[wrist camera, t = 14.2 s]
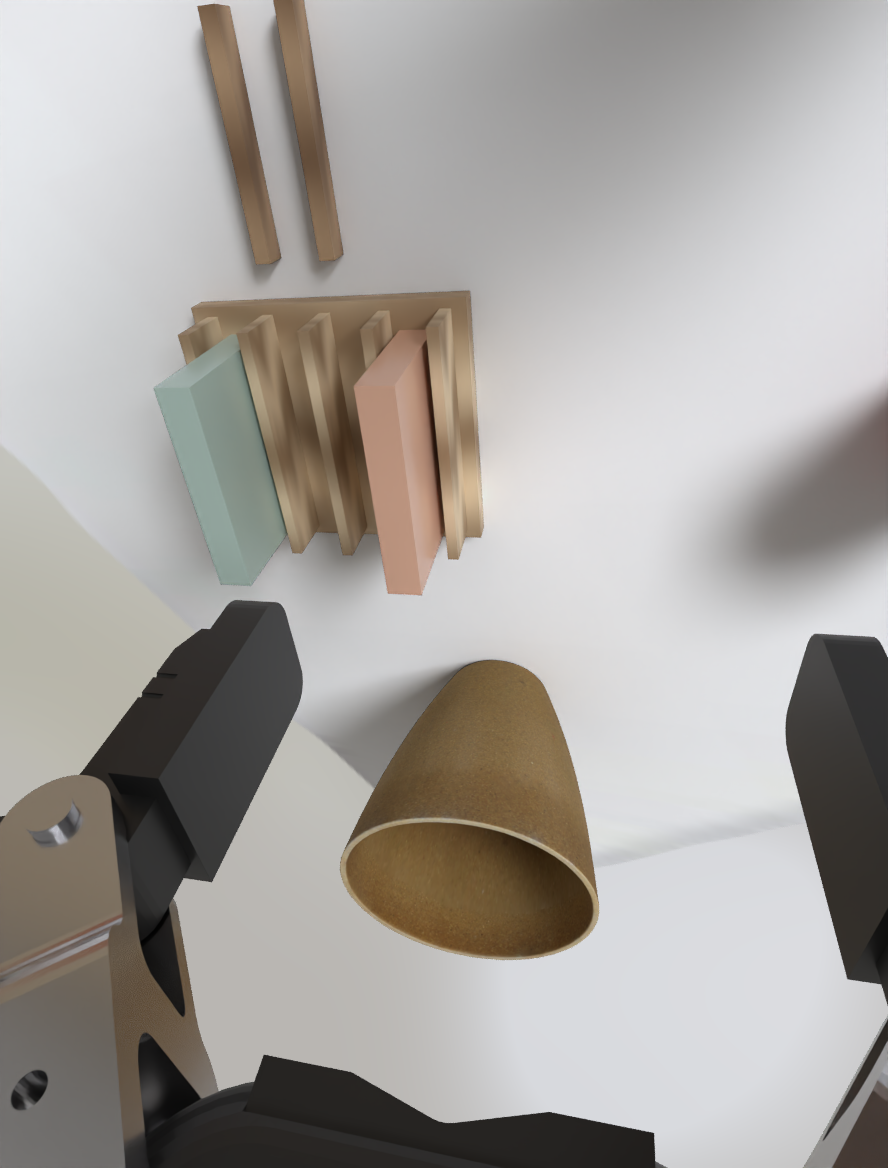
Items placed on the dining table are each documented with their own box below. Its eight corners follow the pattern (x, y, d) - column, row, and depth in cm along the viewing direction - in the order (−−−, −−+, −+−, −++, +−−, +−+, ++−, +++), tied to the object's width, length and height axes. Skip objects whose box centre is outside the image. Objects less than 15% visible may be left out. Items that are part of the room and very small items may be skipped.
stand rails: (212, 8, 30) (197, 6, 28) (303, -4, 29) (291, -7, 28) (266, 258, 35) (255, 264, 34) (343, 254, 35) (334, 260, 33)
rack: (201, 302, 38) (160, 325, 34) (470, 290, 34) (454, 315, 31) (262, 520, 46) (234, 557, 42) (483, 527, 43) (472, 567, 39)
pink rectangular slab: (399, 330, 35) (353, 386, 29) (433, 329, 35) (394, 385, 28) (421, 514, 42) (388, 593, 35) (450, 515, 41) (421, 595, 35)
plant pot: (372, 702, 54) (301, 891, 42) (468, 585, 46) (415, 779, 33) (525, 786, 57) (502, 987, 44) (644, 691, 48) (657, 908, 36)
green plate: (230, 334, 37) (153, 388, 31) (261, 333, 37) (189, 387, 30) (276, 510, 43) (220, 584, 37) (303, 511, 43) (251, 585, 37)
